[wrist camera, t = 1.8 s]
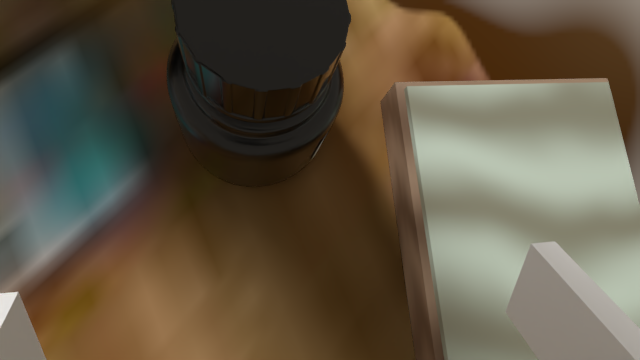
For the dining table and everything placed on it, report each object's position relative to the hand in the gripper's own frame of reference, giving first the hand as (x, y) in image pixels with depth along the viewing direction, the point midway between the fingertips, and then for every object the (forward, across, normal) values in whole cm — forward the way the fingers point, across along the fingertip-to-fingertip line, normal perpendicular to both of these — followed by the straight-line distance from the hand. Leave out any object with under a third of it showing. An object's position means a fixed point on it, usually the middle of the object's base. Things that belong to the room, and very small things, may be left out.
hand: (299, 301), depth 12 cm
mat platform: (+13, +16, -9) cm, 22 cm away
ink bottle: (+18, 0, -3) cm, 19 cm away
